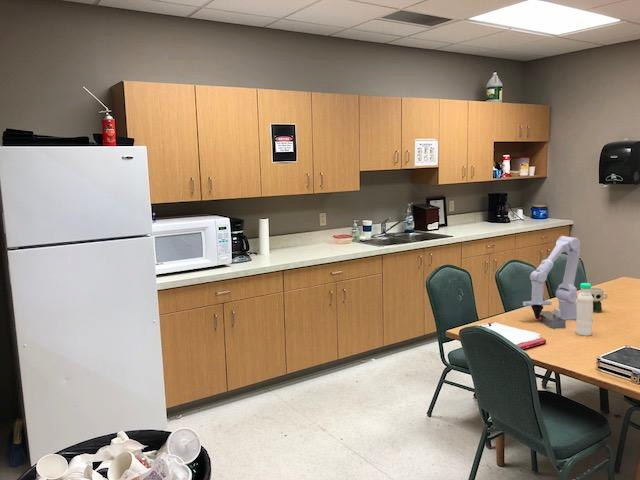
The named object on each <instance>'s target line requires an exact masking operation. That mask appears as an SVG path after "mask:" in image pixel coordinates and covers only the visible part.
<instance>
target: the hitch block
mask: <svg viewBox="0 0 640 480" xmlns="http://www.w3.org/2000/svg"><path fill="white" fill-rule="evenodd" d="M540 315H541V316H542V320H541V321H540V323H542V324H544V325H545V326H547V327H549V328H550V329H566V328H567V327H566V324H567V323H566V322H567V321H566V320H567V319H565V320H564V319H562V318H561V317H557V316H556V315H554V312H552V311H550V310H542V311H541V313H540Z"/></svg>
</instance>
